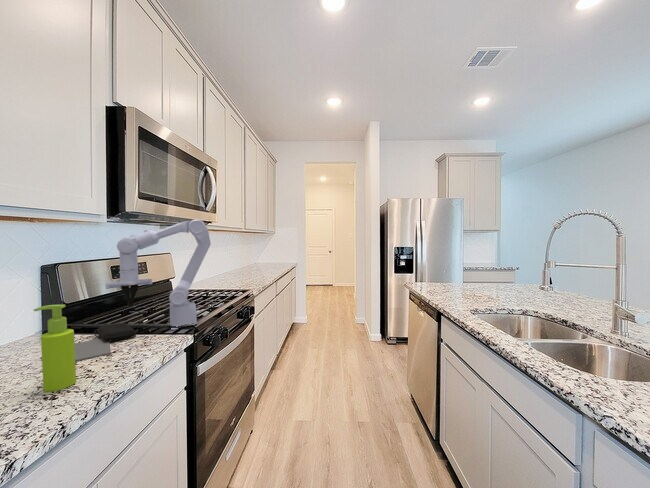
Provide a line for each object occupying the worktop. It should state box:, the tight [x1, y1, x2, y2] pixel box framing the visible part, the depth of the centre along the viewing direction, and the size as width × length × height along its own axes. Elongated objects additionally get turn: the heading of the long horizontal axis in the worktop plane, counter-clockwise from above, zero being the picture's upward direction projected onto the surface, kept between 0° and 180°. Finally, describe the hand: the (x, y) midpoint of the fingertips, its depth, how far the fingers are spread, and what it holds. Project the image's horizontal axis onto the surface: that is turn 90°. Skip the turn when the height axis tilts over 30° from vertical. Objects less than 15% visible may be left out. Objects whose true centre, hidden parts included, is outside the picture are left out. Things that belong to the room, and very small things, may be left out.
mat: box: [74, 337, 112, 363], centre depth 90 cm, size 14×18×1 cm
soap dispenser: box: [33, 303, 77, 393], centre depth 69 cm, size 6×7×20 cm
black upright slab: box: [93, 322, 137, 342], centre depth 103 cm, size 11×3×15 cm
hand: (130, 305), depth 107 cm, fingers closed
